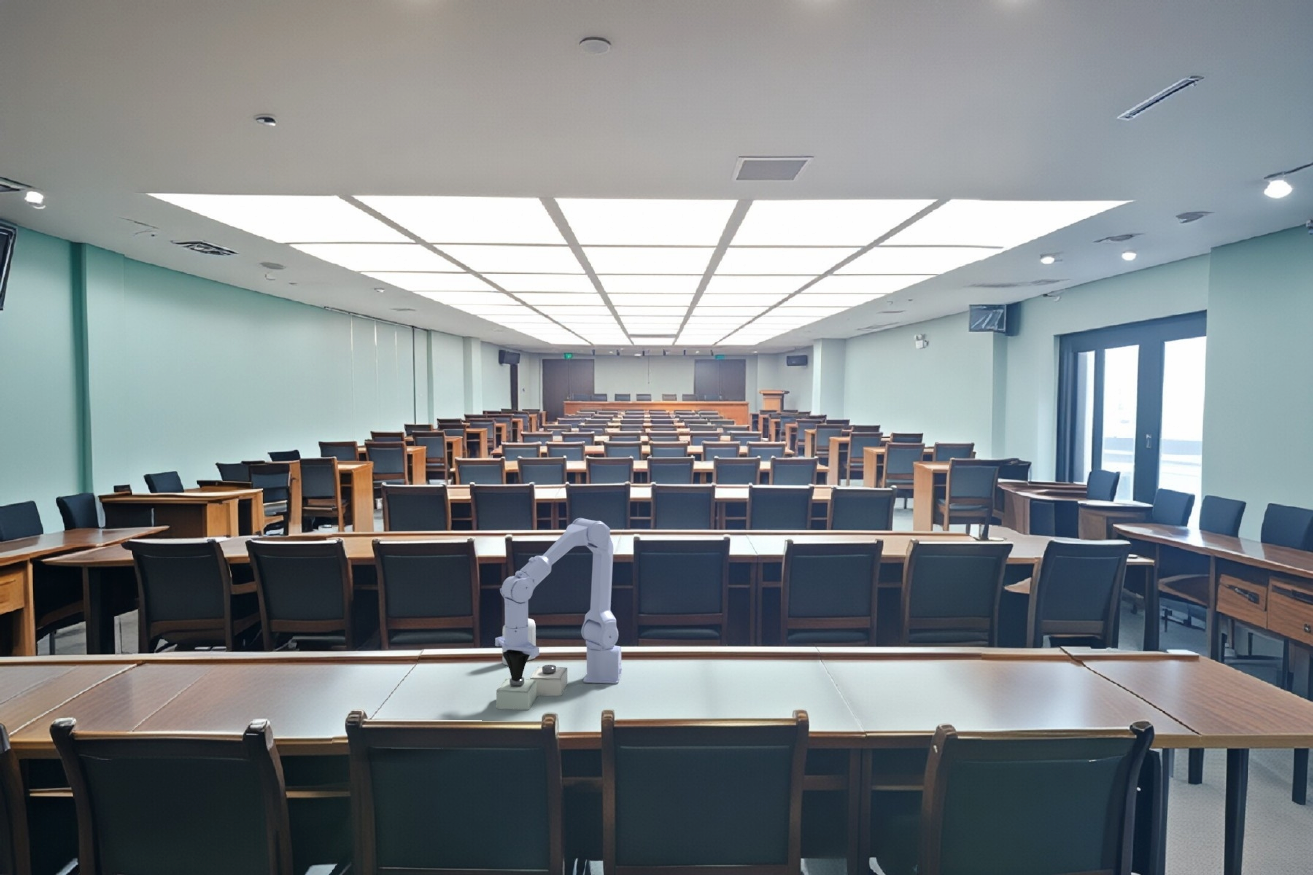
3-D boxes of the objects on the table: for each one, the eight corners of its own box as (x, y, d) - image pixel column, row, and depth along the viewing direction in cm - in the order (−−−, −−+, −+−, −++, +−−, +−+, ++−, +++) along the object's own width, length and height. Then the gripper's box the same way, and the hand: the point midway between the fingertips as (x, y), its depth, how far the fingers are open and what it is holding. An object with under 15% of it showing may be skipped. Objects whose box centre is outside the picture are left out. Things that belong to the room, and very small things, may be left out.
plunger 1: (530, 695, 174) (529, 675, 174) (524, 704, 169) (524, 683, 169) (509, 695, 175) (509, 675, 174) (503, 703, 169) (503, 682, 169)
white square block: (567, 684, 184) (567, 667, 184) (560, 695, 176) (560, 678, 176) (538, 683, 185) (537, 666, 184) (530, 694, 177) (530, 677, 177)
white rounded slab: (530, 655, 207) (529, 614, 207) (538, 658, 204) (537, 617, 204) (500, 663, 200) (499, 621, 200) (507, 667, 197) (507, 624, 197)
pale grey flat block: (536, 696, 175) (536, 679, 175) (528, 709, 167) (528, 691, 167) (506, 695, 176) (506, 678, 176) (496, 708, 168) (496, 690, 168)
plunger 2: (561, 683, 183) (561, 663, 183) (556, 690, 177) (556, 670, 177) (541, 682, 183) (541, 663, 183) (536, 690, 178) (536, 670, 178)
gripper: (485, 623, 173) (485, 677, 173) (523, 634, 164) (523, 691, 164) (507, 617, 178) (507, 669, 179) (545, 627, 169) (545, 682, 170)
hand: (516, 679), depth 172 cm, fingers closed, pressing on plunger 1
